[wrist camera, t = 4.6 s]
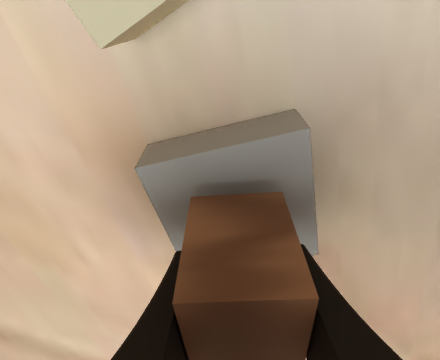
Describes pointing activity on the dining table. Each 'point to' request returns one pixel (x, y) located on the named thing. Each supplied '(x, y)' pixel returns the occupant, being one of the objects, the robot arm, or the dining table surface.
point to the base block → (234, 170)
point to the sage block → (120, 17)
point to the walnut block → (243, 281)
